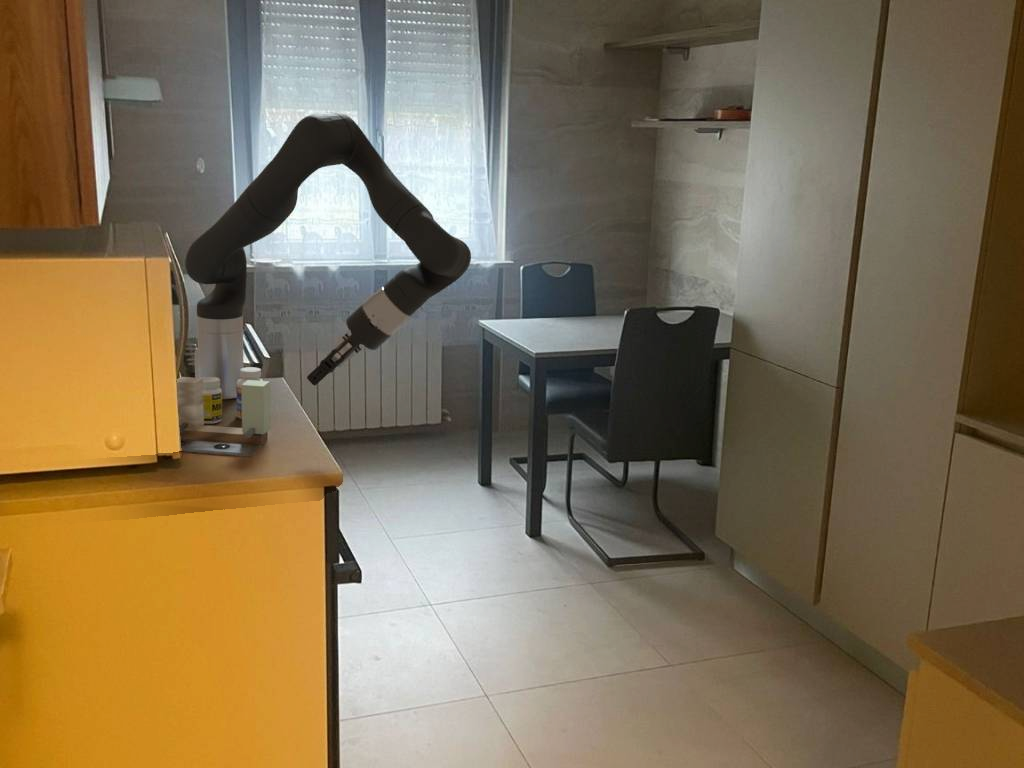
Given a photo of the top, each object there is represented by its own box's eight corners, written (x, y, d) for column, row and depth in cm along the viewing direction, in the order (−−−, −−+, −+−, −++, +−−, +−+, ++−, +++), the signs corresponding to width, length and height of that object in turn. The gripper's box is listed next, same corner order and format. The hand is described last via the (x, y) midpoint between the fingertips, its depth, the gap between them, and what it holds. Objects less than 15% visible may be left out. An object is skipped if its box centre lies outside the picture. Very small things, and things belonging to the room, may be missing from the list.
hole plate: (161, 450, 170) (161, 446, 169) (173, 441, 174) (172, 437, 174) (250, 456, 169) (250, 453, 169) (259, 447, 174) (259, 444, 173)
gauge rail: (167, 445, 172) (165, 386, 169) (183, 433, 179) (181, 376, 176) (255, 452, 171) (254, 392, 168) (267, 440, 178) (267, 382, 175)
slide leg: (235, 438, 171) (234, 389, 169) (248, 427, 178) (248, 379, 175) (257, 440, 171) (257, 391, 168) (270, 428, 177) (269, 381, 175)
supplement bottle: (214, 425, 185) (213, 383, 183) (192, 422, 186) (191, 380, 184) (227, 418, 189) (226, 377, 187) (204, 416, 190) (203, 375, 188)
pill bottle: (233, 419, 189) (232, 371, 187) (241, 411, 194) (240, 365, 192) (260, 421, 189) (259, 373, 187) (268, 413, 194) (267, 367, 192)
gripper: (372, 296, 176) (306, 358, 179) (355, 308, 163) (285, 374, 167) (400, 326, 177) (334, 387, 180) (386, 340, 164) (316, 405, 168)
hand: (311, 381), depth 174 cm, fingers closed
